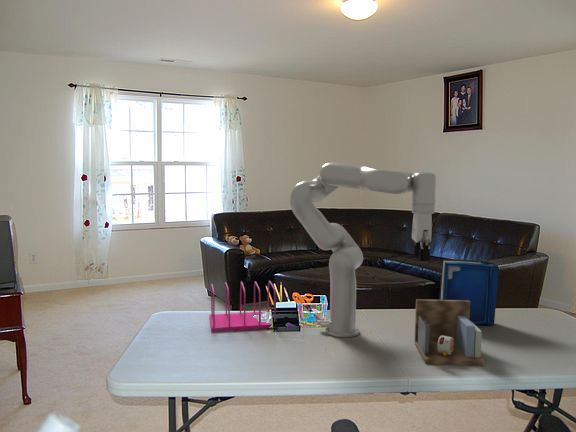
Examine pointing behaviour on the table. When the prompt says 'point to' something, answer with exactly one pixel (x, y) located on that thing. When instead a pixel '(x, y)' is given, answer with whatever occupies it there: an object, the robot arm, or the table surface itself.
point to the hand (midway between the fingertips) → (421, 258)
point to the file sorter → (238, 314)
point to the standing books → (468, 337)
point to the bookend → (423, 335)
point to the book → (471, 287)
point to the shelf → (443, 329)
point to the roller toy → (445, 345)
